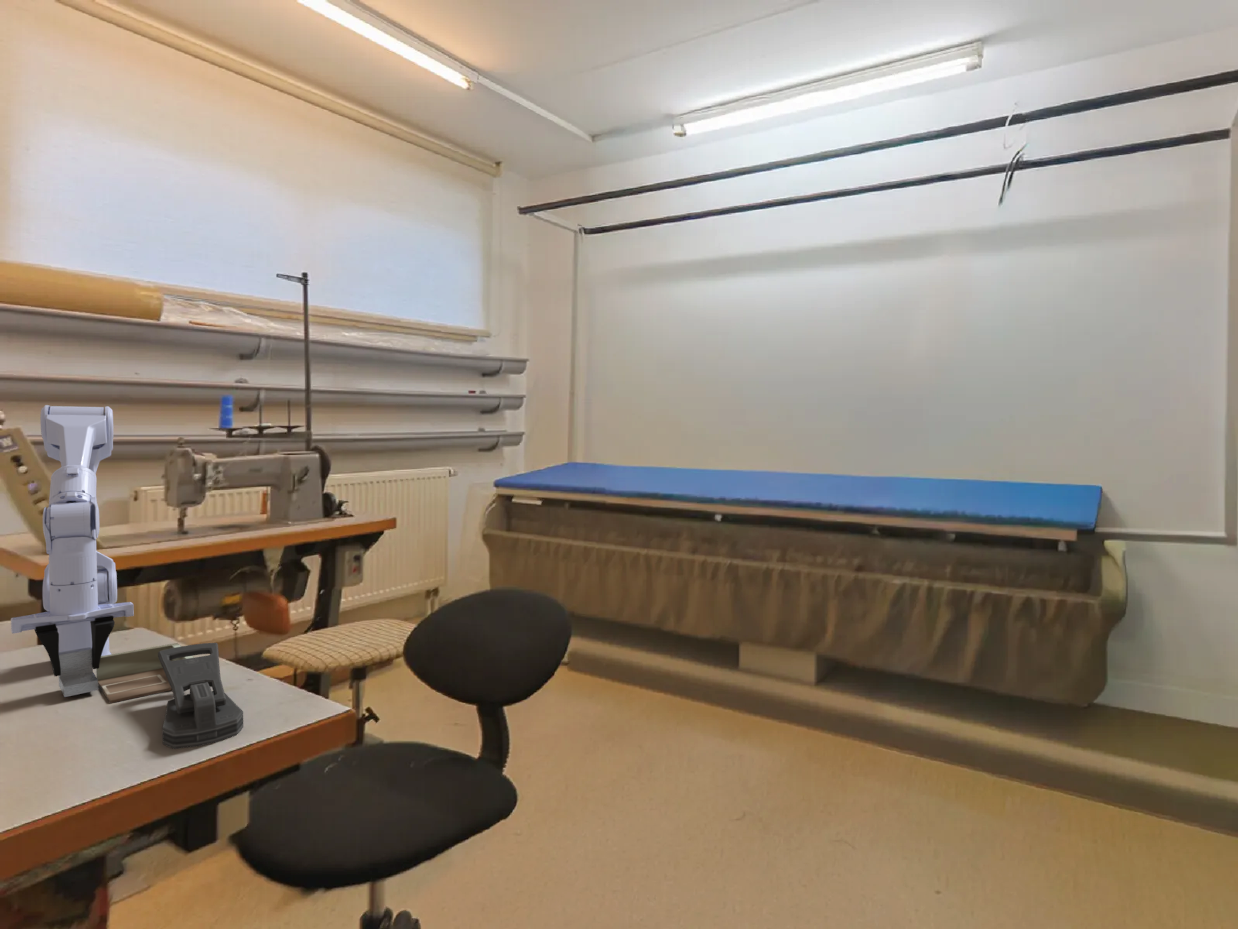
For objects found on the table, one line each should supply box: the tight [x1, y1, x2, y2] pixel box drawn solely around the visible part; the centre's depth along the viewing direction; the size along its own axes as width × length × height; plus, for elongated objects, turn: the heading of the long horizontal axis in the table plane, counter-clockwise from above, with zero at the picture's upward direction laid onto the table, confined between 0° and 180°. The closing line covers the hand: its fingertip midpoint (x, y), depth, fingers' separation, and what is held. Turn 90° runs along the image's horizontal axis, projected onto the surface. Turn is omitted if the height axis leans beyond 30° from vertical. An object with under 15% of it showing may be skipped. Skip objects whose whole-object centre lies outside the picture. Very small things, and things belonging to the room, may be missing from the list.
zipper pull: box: [158, 642, 244, 750], centre depth 97 cm, size 9×7×25 cm
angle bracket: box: [58, 647, 99, 698], centre depth 105 cm, size 6×4×5 cm, turn 44°
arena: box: [95, 642, 195, 704], centre depth 109 cm, size 12×11×4 cm
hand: (76, 670), depth 106 cm, fingers closed on angle bracket, 4 cm apart
